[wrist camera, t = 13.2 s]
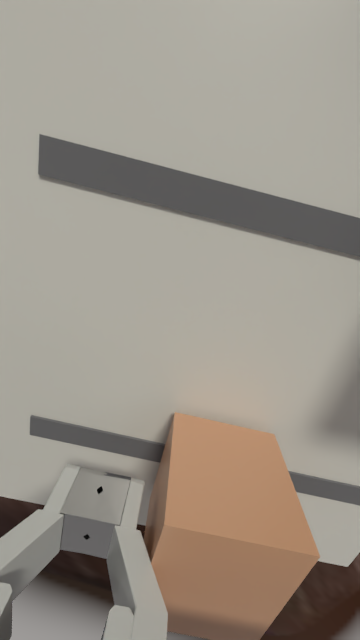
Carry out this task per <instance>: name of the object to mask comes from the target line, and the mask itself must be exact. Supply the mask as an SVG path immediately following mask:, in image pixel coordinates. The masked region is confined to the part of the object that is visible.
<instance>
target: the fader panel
mask: <svg viewBox="0 0 360 640" xmlns="http://www.w3.org/2000/svg"><path fill="white" fill-rule="evenodd" d="M175 412H177V413H182V414H186V415H191V416H195V417H200V418H204V419H208V420H213V421H217V422H222V423H226V424H231V425H235V426H240V427H244V428H249V429H253V430H258V431H262V432H267V433H271V434H275V437H276V440H277V442H278V445H279V448H280V450H281V453H282V456H283V458H284V461H285V464H286V466H287V469H288V472H289V474H290V477H291V480H292V482H293V485H294V488H295V490H296V493H297V496H298V498H299V501H300V504H301V506H302V509H303V512H304V514H305V517H306V520H307V522H308V525H309V528H310V530H311V533H312V536H313V539H314V541H315V544H316V547H317V549H318V552H319V555H320V558H319V559H318V561H321V562H326V563H331V564H336V565H341V566H346V567H348V566H349V565H350V563H351V562H352V561H353V560H354V558H355V557H356V556H357V555H358V554H359V552H360V0H0V496H2V497H7V498H12V499H17V500H22V501H27V502H32V503H36V504H41V505H45V504H46V502H47V501H48V499H49V497H50V495H51V493H52V491H53V489H54V487H55V485H56V483H57V481H58V479H59V477H60V475H61V474H62V472H63V470H64V468H65V467H66V465H67V464H71V465H76V466H80V467H84V468H88V469H92V470H97V471H101V472H107V473H112V474H117V475H122V476H128V477H131V478H135V479H140V480H145V484H144V490H143V495H142V501H141V506H140V512H139V517H138V523H137V524H140V525H145V526H146V521H147V515H148V508H149V501H150V496H151V493H152V489H153V486H154V482H155V479H156V475H157V472H158V468H159V465H160V462H161V458H162V455H163V451H164V448H165V444H166V441H167V437H168V434H169V430H170V427H171V423H172V420H173V416H174V413H175ZM130 481H131V480H130Z"/></svg>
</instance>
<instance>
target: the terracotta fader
mask: <svg viewBox="0 0 360 640" xmlns="http://www.w3.org/2000/svg"><path fill="white" fill-rule="evenodd" d="M144 543H145V546H146V549H147V552H148V555H149V558H150V561H151V565H152V567H153V570H154V573H155V576H156V579H157V582H158V585H159V588H160V591H161V594H162V597H163V600H164V603H165V606H166V609H167V612H168V622H167V631H168V632H174V633H179V634H184V635H190V636H195V637H200V638H206V639H211V640H260V638H261V637H262V636H263V634H264V633H265V632H266V630H267V629H268V627H269V626H270V625H271V623H272V622H273V621H274V619H275V618H276V617H277V615H278V614H279V612H280V611H281V610H282V608H283V607H284V606H285V604H286V603H287V602H288V600H289V599H290V597H291V596H292V595H293V593H294V592H295V591H296V589H297V588H298V587H299V585H300V584H301V582H302V581H303V580H304V578H305V577H306V576H307V574H308V573H309V572H310V570H311V569H312V567H313V566H314V565H315V563H316V562H317V561H318V559H319V558H320V555H319V552H318V549H317V547H316V544H315V541H314V539H313V536H312V533H311V530H310V528H309V525H308V522H307V520H306V517H305V514H304V512H303V509H302V506H301V504H300V501H299V498H298V496H297V493H296V490H295V488H294V485H293V482H292V480H291V477H290V474H289V472H288V469H287V466H286V464H285V461H284V458H283V456H282V453H281V450H280V448H279V445H278V442H277V440H276V437H275V434H271V433H267V432H262V431H258V430H253V429H249V428H244V427H240V426H235V425H231V424H226V423H222V422H217V421H213V420H208V419H204V418H200V417H195V416H191V415H186V414H182V413H177V412H175V413H174V416H173V420H172V423H171V427H170V430H169V434H168V437H167V441H166V444H165V448H164V451H163V455H162V458H161V462H160V465H159V468H158V472H157V475H156V479H155V482H154V486H153V489H152V493H151V496H150V501H149V508H148V515H147V521H146V528H145V534H144Z"/></svg>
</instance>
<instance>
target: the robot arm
mask: <svg viewBox="0 0 360 640" xmlns="http://www.w3.org/2000/svg"><path fill="white" fill-rule="evenodd" d="M130 480H131V481H130ZM144 484H145V480H140V479H135V478H131V477H128V476H122V475H117V474H112V473H107V472H101V471H97V470H92V469H88V468H84V467H80V466H76V465H71V464H67V465H66V467H65V468H64V470H63V472H62V474H61V475H60V477H59V479H58V481H57V483H56V485H55V487H54V489H53V491H52V493H51V495H50V497H49V499H48V501H47V502H46V504H45V506H44V508H43V510H40V509H38V510H37V511H35V512H34V513H33V514H31V515H30V516H29V517H27V518H26V519H25V520H23V521H22V522H21V523H19V524H18V525H17V526H16V527H14V528H13V529H12V530H10V531H9V532H8V533H6V534H5V535H4V536H2V537H1V538H0V640H9V639H10V637H11V633H12V630H11V629H12V601H13V600H14V599H15V598H16V597H17V596H18V595H19V594H20V593H21V592H22V591H23V589H24V588H25V587H26V586H27V585H28V584H29V583H30V582H31V581H32V580H33V579H34V578H35V577H36V576H37V575H38V574H39V573H40V571H41V570H42V569H43V568H44V567H45V566H46V565H47V564H48V563H49V562H50V561H51V560H52V559H53V558H54V557H55V556H56V555H57V554H58V553H59V550H66V551H72V552H78V553H84V554H88V555H92V556H96V557H100V558H105V559H107V566H108V571H109V577H110V583H111V588H112V594H113V599H114V606H113V607H112V608H111V609H110V611H109V614H108V617H107V621H106V624H105V628H104V631H103V635H102V638H101V640H166V637H167V622H168V612H167V609H166V606H165V603H164V600H163V597H162V594H161V591H160V588H159V585H158V582H157V579H156V576H155V573H154V570H153V567H152V565H151V561H150V558H149V555H148V552H147V549H146V546H145V543H144V540H143V537H142V534H141V531H140V530H136V528H137V523H138V517H139V512H140V506H141V501H142V495H143V490H144Z"/></svg>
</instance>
